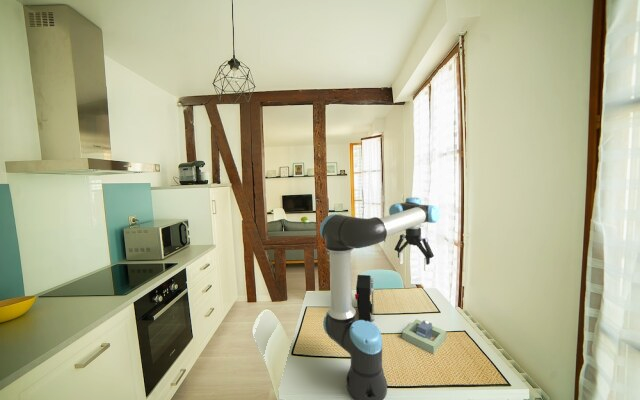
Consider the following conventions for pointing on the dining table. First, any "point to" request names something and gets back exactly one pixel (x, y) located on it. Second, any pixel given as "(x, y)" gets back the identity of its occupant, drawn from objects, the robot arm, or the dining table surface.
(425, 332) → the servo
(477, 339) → the dining table surface
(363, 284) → the electrical component
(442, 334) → the green tray
